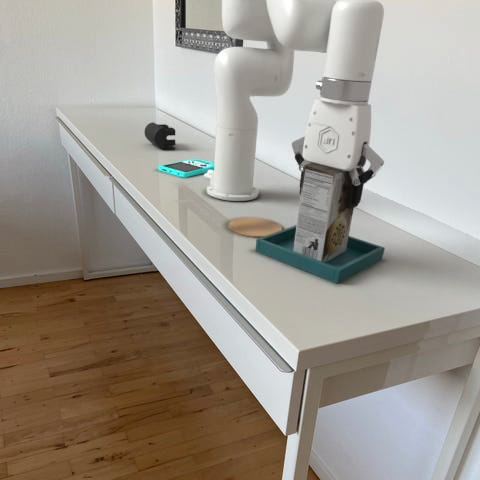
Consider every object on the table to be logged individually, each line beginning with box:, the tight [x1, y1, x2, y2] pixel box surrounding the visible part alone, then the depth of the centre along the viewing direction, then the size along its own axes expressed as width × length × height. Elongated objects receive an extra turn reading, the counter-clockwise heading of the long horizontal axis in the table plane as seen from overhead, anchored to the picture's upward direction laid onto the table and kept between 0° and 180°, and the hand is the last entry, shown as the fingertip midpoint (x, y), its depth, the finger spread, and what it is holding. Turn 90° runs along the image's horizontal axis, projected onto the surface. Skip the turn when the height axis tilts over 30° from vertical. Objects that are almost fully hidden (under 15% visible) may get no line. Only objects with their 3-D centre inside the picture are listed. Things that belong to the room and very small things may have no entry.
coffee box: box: [293, 163, 355, 263], centre depth 89 cm, size 9×6×16 cm
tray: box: [254, 224, 385, 284], centre depth 92 cm, size 18×16×2 cm
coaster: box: [228, 217, 283, 238], centre depth 103 cm, size 11×11×1 cm
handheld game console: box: [157, 158, 214, 178], centre depth 141 cm, size 10×16×1 cm, turn 143°
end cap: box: [143, 121, 176, 151], centre depth 163 cm, size 10×7×7 cm
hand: (328, 200), depth 88 cm, fingers open, 9 cm apart
